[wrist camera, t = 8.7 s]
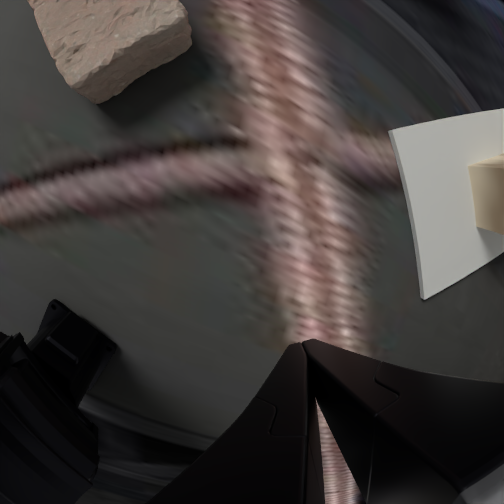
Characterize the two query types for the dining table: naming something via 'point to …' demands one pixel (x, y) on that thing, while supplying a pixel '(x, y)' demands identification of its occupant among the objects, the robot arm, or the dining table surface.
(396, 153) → the mat
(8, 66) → the dining table surface
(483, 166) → the block
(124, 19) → the brick
